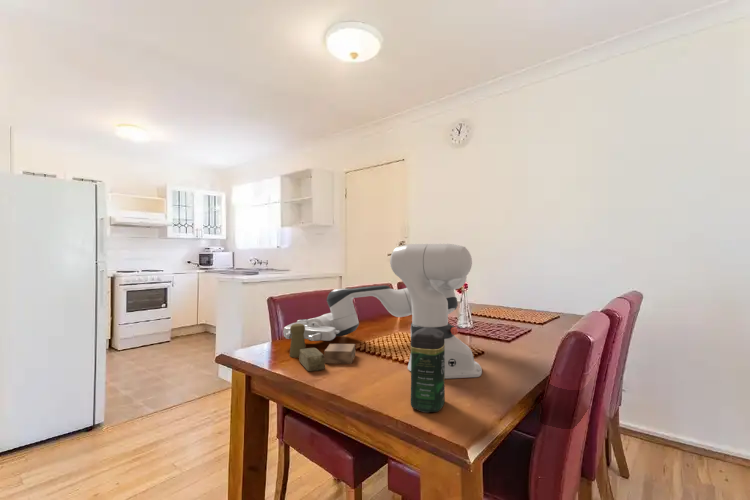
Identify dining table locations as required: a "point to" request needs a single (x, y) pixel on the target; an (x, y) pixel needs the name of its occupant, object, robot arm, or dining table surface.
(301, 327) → the olive peg figure
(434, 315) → the robot arm
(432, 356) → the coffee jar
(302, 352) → the stone block
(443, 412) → the dining table surface
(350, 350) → the walnut block
